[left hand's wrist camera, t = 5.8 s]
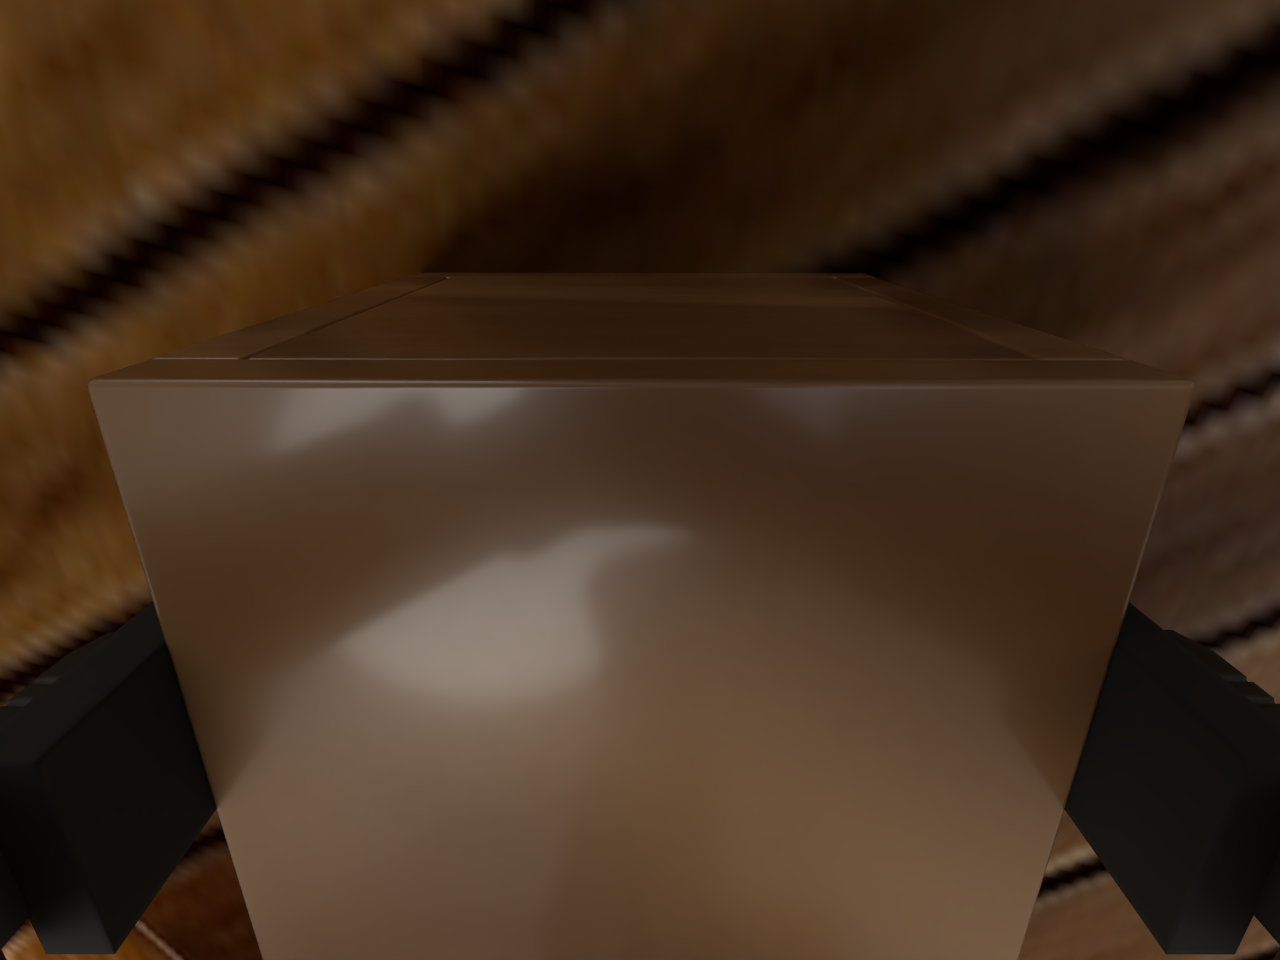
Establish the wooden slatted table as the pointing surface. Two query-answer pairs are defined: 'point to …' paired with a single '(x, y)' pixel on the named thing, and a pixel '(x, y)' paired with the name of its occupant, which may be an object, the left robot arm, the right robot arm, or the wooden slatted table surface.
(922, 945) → the cabinet
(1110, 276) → the wooden slatted table surface
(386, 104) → the wooden slatted table surface
